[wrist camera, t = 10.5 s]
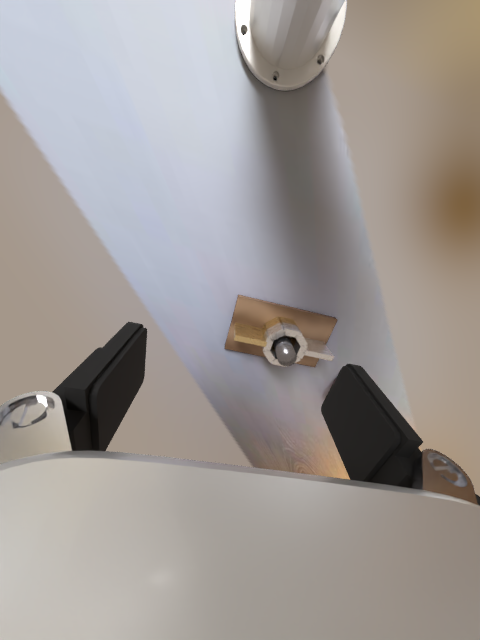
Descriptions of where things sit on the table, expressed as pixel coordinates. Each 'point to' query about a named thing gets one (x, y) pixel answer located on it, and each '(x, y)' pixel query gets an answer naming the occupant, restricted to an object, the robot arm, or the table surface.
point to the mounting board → (263, 311)
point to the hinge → (275, 331)
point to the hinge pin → (285, 351)
